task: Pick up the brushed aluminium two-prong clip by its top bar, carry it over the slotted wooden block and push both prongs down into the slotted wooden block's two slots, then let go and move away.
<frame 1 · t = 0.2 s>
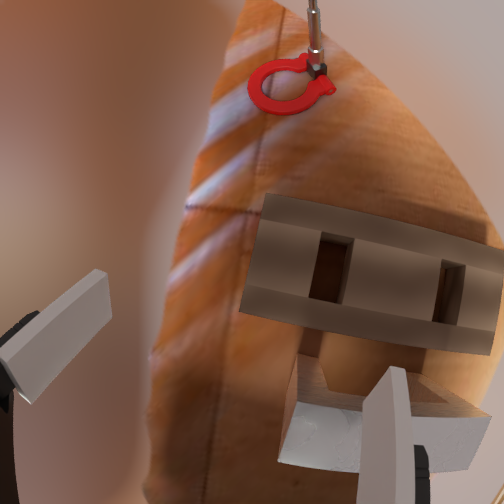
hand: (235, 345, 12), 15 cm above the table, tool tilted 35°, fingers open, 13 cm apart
clip: (357, 385, 25), on the table
slotted wooden block: (382, 283, 26), on the table
tow hook: (288, 87, 31), on the table
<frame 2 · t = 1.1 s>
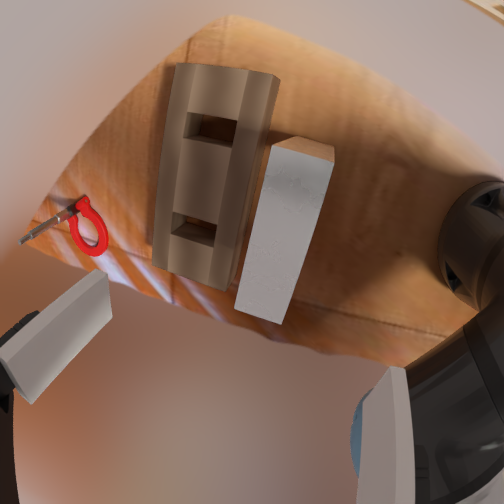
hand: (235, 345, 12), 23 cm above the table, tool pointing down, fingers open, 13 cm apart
clip: (299, 198, 32), on the table
slotted wooden block: (214, 174, 33), on the table
tow hook: (89, 227, 42), on the table
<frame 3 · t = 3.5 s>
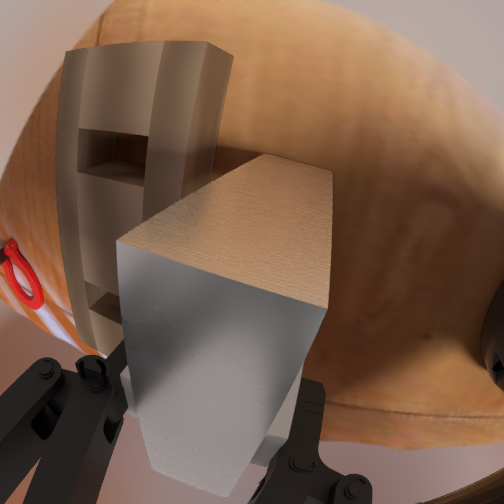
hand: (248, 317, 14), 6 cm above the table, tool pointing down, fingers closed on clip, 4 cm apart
clip: (273, 259, 19), on the table, touching gripper
slotted wooden block: (141, 219, 21), on the table
tow hook: (24, 275, 30), on the table
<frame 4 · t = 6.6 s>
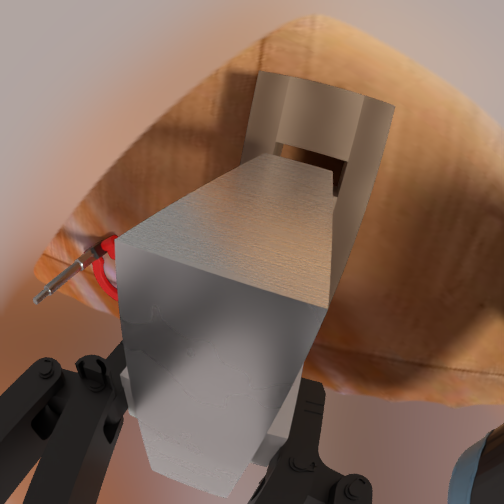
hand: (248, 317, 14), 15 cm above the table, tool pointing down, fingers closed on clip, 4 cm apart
clip: (273, 259, 19), point 9 cm above the table, touching gripper
slotted wooden block: (296, 220, 27), on the table
tow hook: (119, 270, 36), on the table
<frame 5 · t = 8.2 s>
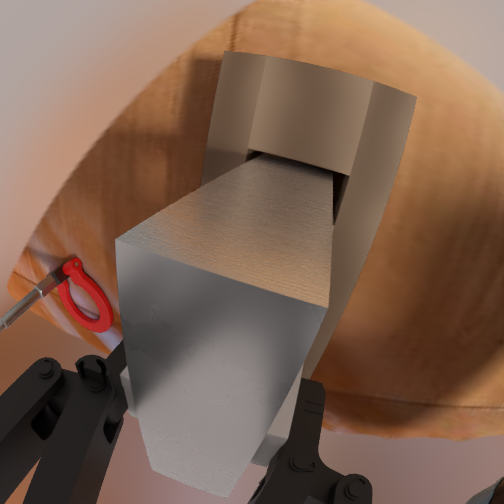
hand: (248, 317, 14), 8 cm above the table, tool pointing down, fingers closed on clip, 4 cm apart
clip: (273, 259, 19), point 2 cm above the table, touching gripper
slotted wooden block: (281, 247, 21), on the table
tow hook: (85, 295, 30), on the table
when the fingers open (7 cm above the table, at t = 9.7 s): clip stays where it is, on the table.
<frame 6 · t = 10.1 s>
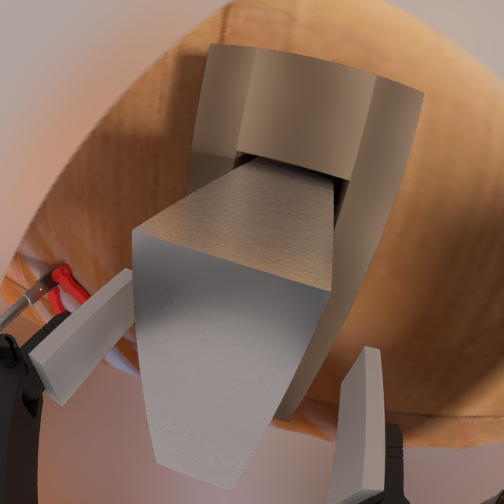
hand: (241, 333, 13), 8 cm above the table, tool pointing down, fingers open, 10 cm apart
clip: (275, 256, 20), on the table
slotted wooden block: (275, 256, 20), on the table
tow hook: (76, 302, 29), on the table
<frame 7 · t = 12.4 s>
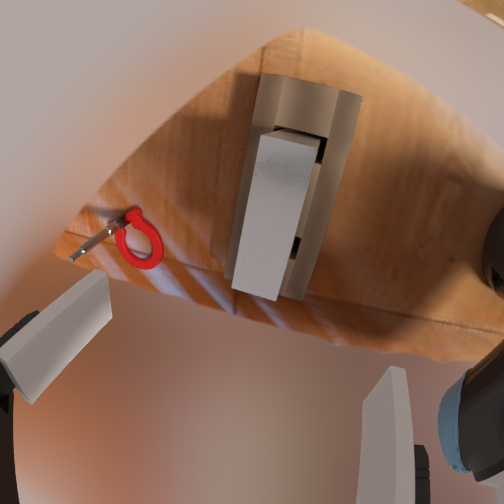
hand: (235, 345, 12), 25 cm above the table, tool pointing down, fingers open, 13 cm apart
clip: (291, 186, 34), on the table
slotted wooden block: (290, 187, 34), on the table
tow hook: (140, 239, 43), on the table
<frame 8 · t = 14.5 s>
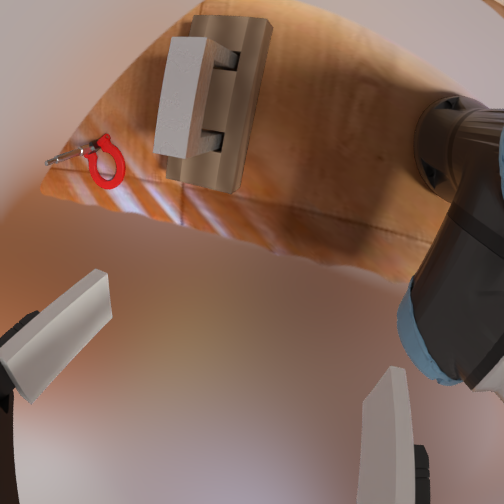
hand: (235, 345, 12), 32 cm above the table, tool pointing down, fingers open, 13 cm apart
clip: (222, 100, 38), on the table
slotted wooden block: (221, 100, 38), on the table
tow hook: (108, 163, 47), on the table
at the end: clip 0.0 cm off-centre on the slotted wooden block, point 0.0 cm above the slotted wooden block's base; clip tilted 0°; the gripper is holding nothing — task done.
